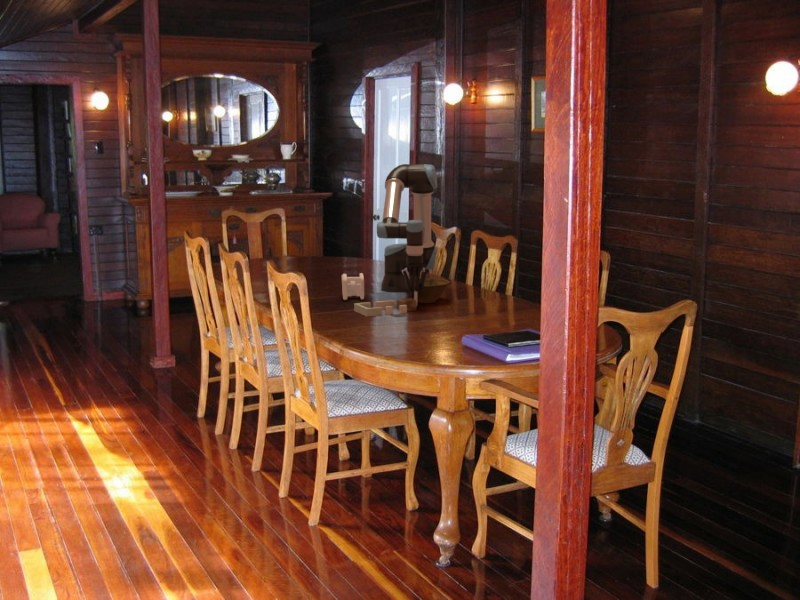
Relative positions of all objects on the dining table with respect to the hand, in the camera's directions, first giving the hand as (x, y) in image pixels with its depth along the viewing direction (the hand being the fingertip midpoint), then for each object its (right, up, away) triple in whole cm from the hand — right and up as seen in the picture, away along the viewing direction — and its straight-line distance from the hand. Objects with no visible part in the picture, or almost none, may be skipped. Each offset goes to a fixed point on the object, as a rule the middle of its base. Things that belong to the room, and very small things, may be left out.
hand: (414, 305), depth 424 cm
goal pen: (-21, -4, -9) cm, 23 cm away
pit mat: (-7, -4, -14) cm, 16 cm away
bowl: (+6, +1, +18) cm, 19 cm away
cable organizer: (-30, +3, +25) cm, 39 cm away
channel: (-11, -3, -5) cm, 12 cm away
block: (-4, -2, -2) cm, 5 cm away
